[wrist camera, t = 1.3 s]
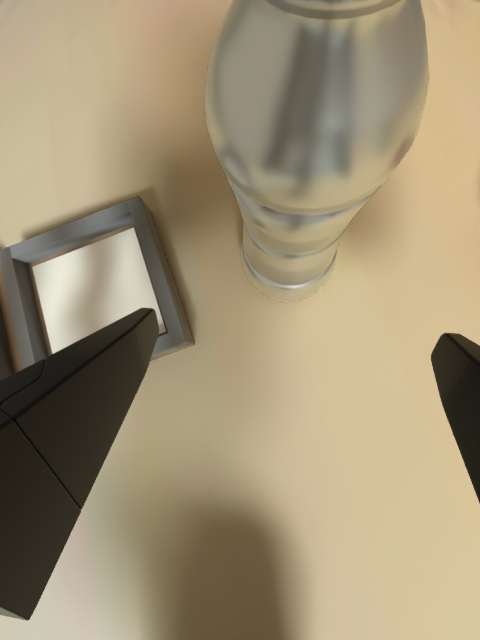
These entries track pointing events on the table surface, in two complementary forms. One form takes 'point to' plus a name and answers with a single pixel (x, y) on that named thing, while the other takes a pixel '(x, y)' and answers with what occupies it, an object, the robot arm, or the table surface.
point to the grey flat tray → (86, 285)
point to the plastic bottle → (311, 123)
